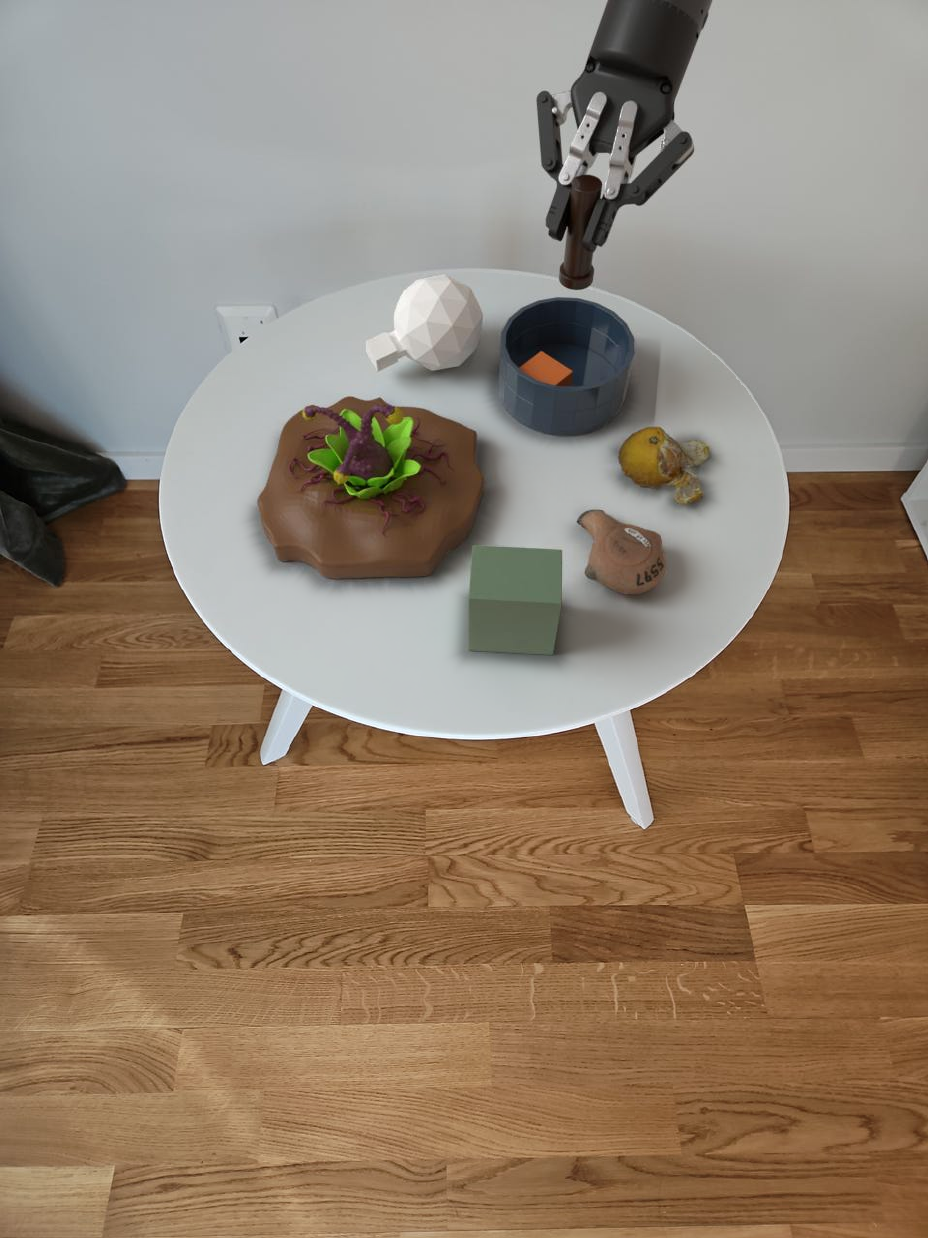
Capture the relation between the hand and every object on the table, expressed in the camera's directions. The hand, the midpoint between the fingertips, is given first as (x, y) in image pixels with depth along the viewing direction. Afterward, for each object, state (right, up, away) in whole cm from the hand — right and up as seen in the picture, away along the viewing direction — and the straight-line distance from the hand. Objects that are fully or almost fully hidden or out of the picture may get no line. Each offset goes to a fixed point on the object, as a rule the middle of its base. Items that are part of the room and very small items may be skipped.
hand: (571, 242), depth 74 cm
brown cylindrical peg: (+1, -1, +5) cm, 5 cm away
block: (-1, -10, +14) cm, 17 cm away
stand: (-5, -31, +2) cm, 32 cm away
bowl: (+1, -8, +16) cm, 18 cm away
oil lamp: (+5, -26, +6) cm, 27 cm away
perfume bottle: (-13, -4, +19) cm, 23 cm away
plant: (-17, -19, +9) cm, 27 cm away
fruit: (+10, -17, +11) cm, 23 cm away
